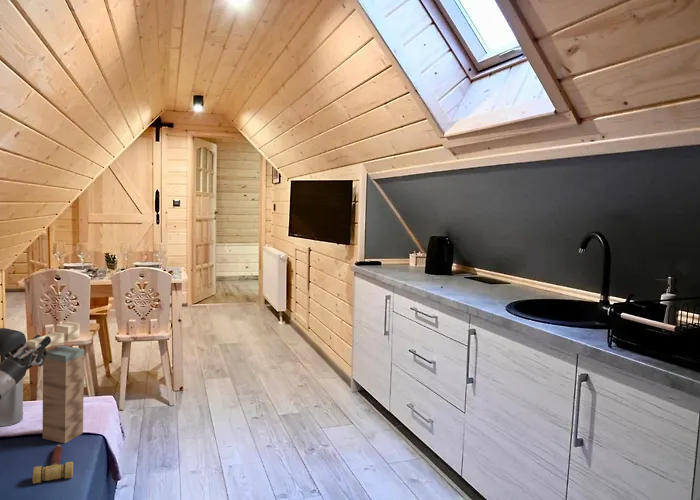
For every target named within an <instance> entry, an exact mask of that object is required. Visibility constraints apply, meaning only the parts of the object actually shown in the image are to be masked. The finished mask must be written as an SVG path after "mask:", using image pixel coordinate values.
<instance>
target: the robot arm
mask: <svg viewBox="0 0 700 500" xmlns="http://www.w3.org/2000/svg"><path fill="white" fill-rule="evenodd" d="M41 336H42V335H41V334H36V335H35V336H33V338H32V339H35V338H38V337H41ZM32 339H30V340H32ZM27 341H28V340H27V337H26V335H25V333H24V332H22V331H19V330H16V329H10V328H6V327H0V427H7V426H12V425H15V424H17V423H18V424H19V422H21V421H22V420H23V418H24V377H25V376H26V374H27V371H28V370H29V369H31V368H32V367H33V366H38V367H41V366H42V367H43V363H44V361H45V358H46V356H47V354H48V352H47V351H48V350H47V348H46V347H47V346H48V345H49V344H50V343H51V339H50V337H49V336H46V337H45V338H44V339H43V340H42V341H41V342H40V343H39V345H37V346H36V347H35V348H34V349H30V350H27ZM38 349H39V351H37V350H38Z"/></svg>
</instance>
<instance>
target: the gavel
mask: <svg viewBox="0 0 700 500" xmlns="http://www.w3.org/2000/svg"><path fill="white" fill-rule="evenodd" d="M62 447H63V446H61V445H60V444H58V445H56V446H55V447H54V448H53V451H52V455H51V460H50V463H49V464H50V465H47V466H42V465H39V466H36V465H35V466H34V467H33V469H32V470H33V471H32V483H33V484H40V483H42V482H43V481H44V482H46V481H52V480H54V479H55V480H61V479H63V478H64V480H66V479H67V478H69V479H72V478H73V477H74V461H65V463H63V464H62V463H61V460H62V454H63V448H62ZM55 480H54V481H55ZM67 480H68V479H67Z"/></svg>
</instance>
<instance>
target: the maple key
mask: <svg viewBox="0 0 700 500" xmlns="http://www.w3.org/2000/svg"><path fill="white" fill-rule="evenodd" d="M80 327H81V324H80V322H74V321H65V322H61V323H58V324H55V331H54V332H51V333H47V334H45V335H43V336H42V335H40V336H41V337H38V338H35V339H33V338H32V340H31V339H29V340H26V341H27V350H30V349H34V348H35V347H36V346H37V345H39V343H40V342H41V341H42V340H43V339H44V338H45V337H46V336H49V337H50V339H51V343H50V344H49V345H48V346H47V347H46V348H45V349H47V348H51V347H54V346H56V345H58V344H62V343H65V342H68V343H69V342H71V341H74V340H77V339H80V330H81V328H80ZM38 351H39V349H38V350H37V351H36V352H38Z"/></svg>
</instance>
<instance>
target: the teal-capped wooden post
mask: <svg viewBox="0 0 700 500" xmlns="http://www.w3.org/2000/svg"><path fill="white" fill-rule="evenodd" d="M46 351H47V352H48V354H47V356H46V358H45V361H44V363H43V365H42V440H43V439H44V440H48V441H52V442H55V443H61V444H66V443H68V442H70V441H72V440H73V439H75V438H77V437H79V436H80V435H82V434H83V433H84V395H85V394H84V391H85V390H84V389H85V387H84V386H85V384H84V383H85V376H84V375H85V349H84V348H78V347H75V346H74V347H73V346H68V345H59V346H57V347H53V348H51V349H47V350H46Z"/></svg>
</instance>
